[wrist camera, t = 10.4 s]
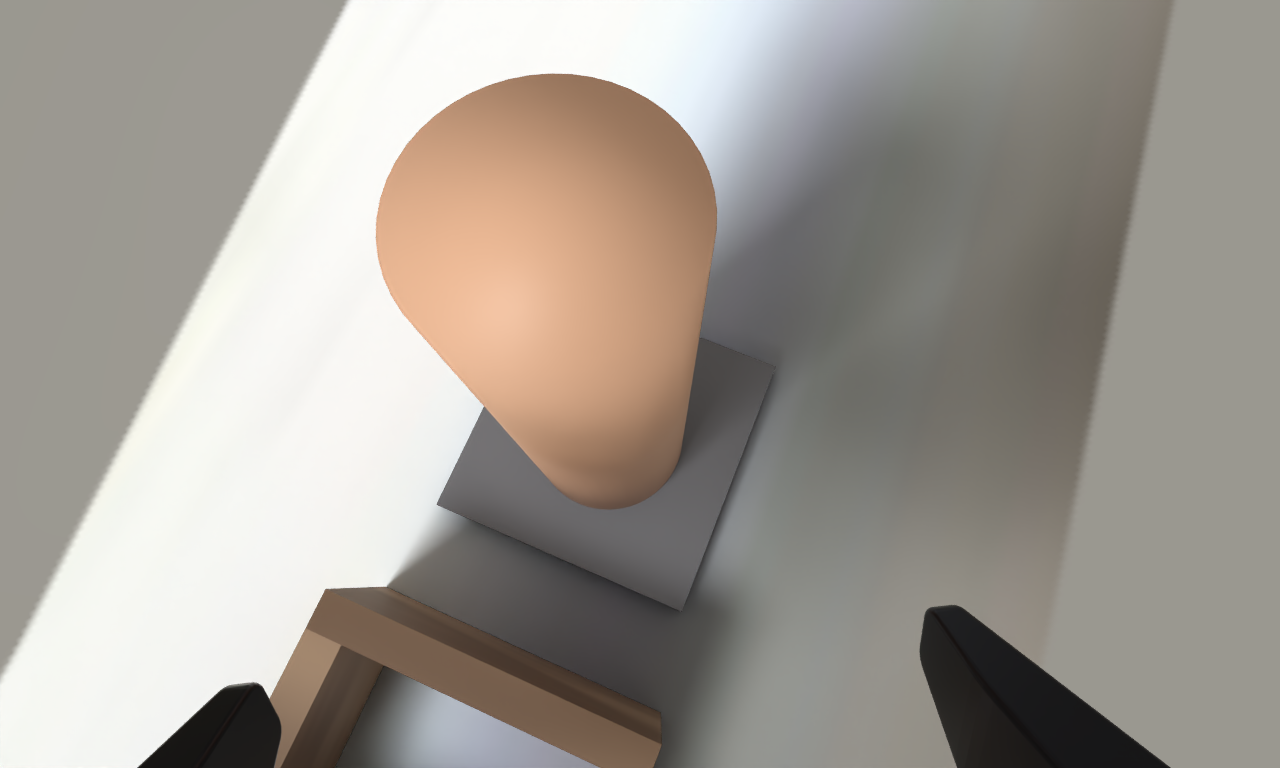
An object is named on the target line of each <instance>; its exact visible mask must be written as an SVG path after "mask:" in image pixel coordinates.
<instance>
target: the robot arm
mask: <svg viewBox="0 0 1280 768" xmlns="http://www.w3.org/2000/svg"><path fill="white" fill-rule="evenodd" d="M920 660H921V664H922V667H923V671H924V673H925V676H926V679H927V682H928V685H929V688H930V691H931V694H932V697H933V700H934V702H935V705H936V708H937V711H938V714H939V717H940V720H941V723H942V726H943V729H944V731H945V734H946V737H947V740H948V743H949V746H950V749H951V752H952V755H953V758H954V760H955V763H956V766H957V768H1170V767H1169V766H1168V765H1166V764H1165V763H1164V762H1163V761H1161V760H1160V759H1159V758H1157V757H1156V756H1155V755H1153V754H1152V753H1151V752H1149V751H1148V750H1147V749H1146V748H1144V747H1143V746H1142V745H1140V744H1139V743H1138V742H1136V741H1135V740H1134V739H1133V738H1131V737H1130V736H1129V735H1127V734H1126V733H1125V732H1123V731H1122V730H1121V729H1120V728H1118V727H1117V726H1116V725H1114V724H1113V723H1112V722H1110V721H1109V720H1108V719H1106V718H1105V717H1104V716H1103V715H1101V714H1100V713H1099V712H1097V711H1096V710H1095V709H1094V708H1092V707H1091V706H1090V705H1088V704H1087V703H1086V702H1084V701H1083V700H1082V699H1080V698H1079V697H1078V696H1077V695H1075V694H1074V693H1073V692H1071V691H1070V690H1069V689H1067V688H1066V687H1065V686H1064V685H1062V684H1061V683H1060V682H1058V681H1057V680H1056V679H1054V678H1053V677H1052V676H1051V675H1049V674H1048V673H1047V672H1045V671H1044V670H1043V669H1041V668H1040V667H1039V666H1038V665H1036V664H1035V663H1034V662H1032V661H1031V660H1030V659H1028V658H1027V657H1026V656H1025V655H1023V654H1022V653H1021V652H1019V651H1018V650H1017V649H1015V648H1014V647H1013V646H1012V645H1010V644H1009V643H1008V642H1006V641H1005V640H1004V639H1002V638H1001V637H1000V636H998V635H997V634H996V633H995V632H993V631H992V630H991V629H989V628H988V627H987V626H985V625H984V624H983V623H982V622H980V621H979V620H978V619H976V618H975V617H974V616H972V615H971V614H970V613H969V612H967V611H966V610H965V609H963V608H962V607H959V606H957V605H947V606H938V607H931V608H929V609H927V611H926V612H925V616H924V622H923V629H922V636H921V642H920ZM281 733H282V728H281V722H280V719H279V716H278V714H277V713H276V711H275V709H274V707H273V705H272V703H271V701H270V699H269V698H268V696H267V694H266V692H265V690H264V688H263V687H262V686H261V685H260V684H258V683H254V682H252V683H243V684H234V685H229V686H227V687H225V688H223V689H222V690H220V691H219V692H218V693H217V694H216V695H215V696H214V697H213V698H211V699H210V700H209V701H208V702H207V703H206V704H205V705H204V706H203V707H202V708H201V709H200V710H199V711H198V712H196V713H195V714H194V715H193V716H192V717H191V718H190V719H189V720H188V721H187V722H186V723H185V724H184V725H183V726H182V727H180V728H179V729H178V730H177V731H176V732H175V733H174V734H173V735H172V736H171V737H170V738H169V739H168V740H167V741H165V742H164V743H163V744H162V745H161V746H160V747H159V748H158V749H157V750H156V751H155V752H154V753H153V754H152V755H150V756H149V757H148V758H147V759H146V760H145V761H144V762H143V763H142V764H141V765H140V766H139V767H138V768H274V767H275V762H276V758H277V754H278V749H279V745H280V740H281Z"/></svg>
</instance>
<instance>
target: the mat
mask: <svg viewBox="0 0 1280 768" xmlns="http://www.w3.org/2000/svg"><path fill="white" fill-rule="evenodd" d="M775 367H776V366H773V365H770V364H768V363H765V362H762V361H760V360H757V359H755V358H752V357H749V356H747V355H744V354H742V353H739V352H736V351H734V350H731V349H729V348H726V347H723V346H721V345H718V344H716V343H713V342H710V341H708V340H705V339H703V338H700V337H699V342H698V348H697V355H696V361H695V367H694V373H693V379H692V386H691V392H690V398H689V404H688V410H687V417H686V423H685V429H684V435H683V441H682V447H681V453H680V457H679V460H678V463H677V465H676V467H675V469H674V471H673V473H672V474H671V476H670V478H669V479H668V480H667V482H666V483H665V484H664V485H663V486H662V487H661V488H660V489H659V490H658V491H657V492H656V493H655V494H653V495H652V496H650V497H649V498H647V499H646V500H644V501H642V502H640V503H638V504H635V505H632V506H630V507H625V508H621V509H611V510H606V509H596V508H591V507H587V506H584V505H581V504H579V503H577V502H575V501H573V500H571V499H569V498H568V497H566V496H565V495H564V494H562V493H561V492H560V491H559V490H558V489H557V488H556V487H555V486H554V485H553V484H552V483H551V481H550V480H549V479H548V478H547V477H546V476H545V475H544V474H543V472H542V471H541V470H540V469H539V468H538V467H537V466H536V464H535V463H534V462H533V461H532V460H531V459H530V458H529V456H528V455H527V454H526V453H525V452H524V451H523V450H522V449H521V447H520V446H519V445H518V444H517V443H516V442H515V441H514V439H513V438H512V437H511V436H510V435H509V434H508V433H507V432H506V430H505V429H504V428H503V427H502V426H501V425H500V424H499V422H498V421H497V420H496V419H495V418H494V417H493V416H492V415H491V413H490V412H489V411H488V410H487V409H486V408H485V407H484V408H483V410H482V412H481V414H480V416H479V418H478V420H477V422H476V424H475V426H474V428H473V430H472V433H471V435H470V437H469V439H468V441H467V443H466V445H465V447H464V449H463V451H462V453H461V455H460V457H459V459H458V461H457V463H456V465H455V467H454V470H453V472H452V474H451V476H450V478H449V480H448V482H447V484H446V486H445V488H444V490H443V492H442V494H441V496H440V498H439V500H438V502H437V504H436V505H438V506H441V507H443V508H445V509H448V510H450V511H452V512H454V513H457V514H459V515H461V516H464V517H466V518H468V519H470V520H473V521H475V522H477V523H480V524H482V525H484V526H486V527H489V528H491V529H493V530H496V531H498V532H500V533H503V534H505V535H507V536H509V537H512V538H514V539H516V540H519V541H521V542H523V543H525V544H528V545H530V546H532V547H535V548H537V549H539V550H541V551H544V552H546V553H548V554H551V555H553V556H555V557H557V558H560V559H562V560H564V561H567V562H569V563H571V564H574V565H576V566H578V567H580V568H583V569H585V570H587V571H590V572H592V573H594V574H596V575H599V576H601V577H603V578H606V579H608V580H610V581H612V582H615V583H617V584H619V585H622V586H624V587H626V588H628V589H631V590H633V591H635V592H638V593H640V594H642V595H645V596H647V597H649V598H651V599H654V600H656V601H658V602H661V603H663V604H665V605H667V606H670V607H672V608H674V609H677V610H679V611H681V612H682V610H683V607H684V605H685V602H686V599H687V597H688V594H689V592H690V589H691V586H692V584H693V581H694V579H695V576H696V573H697V571H698V568H699V566H700V563H701V560H702V558H703V555H704V553H705V550H706V547H707V545H708V542H709V540H710V537H711V534H712V532H713V529H714V526H715V524H716V521H717V519H718V516H719V513H720V511H721V508H722V506H723V503H724V500H725V498H726V495H727V493H728V490H729V487H730V485H731V482H732V480H733V477H734V474H735V472H736V469H737V467H738V464H739V461H740V459H741V456H742V453H743V451H744V448H745V446H746V443H747V440H748V438H749V435H750V433H751V430H752V427H753V425H754V422H755V420H756V417H757V414H758V412H759V409H760V407H761V404H762V401H763V399H764V396H765V394H766V391H767V388H768V386H769V383H770V381H771V378H772V375H773V373H774V370H775Z"/></svg>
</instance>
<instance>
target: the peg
mask: <svg viewBox="0 0 1280 768" xmlns="http://www.w3.org/2000/svg"><path fill="white" fill-rule="evenodd" d="M716 229H717V207H716V199H715V191H714V187H713V184H712V180H711V177H710V173H709V170H708V168H707V166H706V164H705V161H704V159H703V157H702V155H701V153H700V151H699V150H698V148H697V147H696V145H695V143H694V142H693V140H692V139H691V137H690V136H689V135H688V134H687V133H686V131H685V130H684V129H683V128H682V127H681V125H680V124H679V123H678V122H677V121H676V120H675V119H673V118H672V117H671V116H670V115H669V114H668V113H667V112H666V111H665V110H663V109H662V108H660V107H659V106H658V105H656V104H655V103H653V102H652V101H650V100H649V99H647V98H646V97H644V96H642V95H640V94H638V93H636V92H634V91H632V90H630V89H628V88H625V87H623V86H620V85H617V84H615V83H612V82H609V81H605V80H601V79H597V78H593V77H587V76H580V75H573V74H540V75H529V76H524V77H518V78H513V79H508V80H505V81H502V82H498V83H495V84H492V85H489V86H486V87H484V88H482V89H479V90H477V91H475V92H472V93H470V94H468V95H466V96H465V97H463V98H461V99H459V100H457V101H456V102H454V103H452V104H451V105H449V106H448V107H446V108H445V109H444V110H442V111H441V112H440V113H438V114H437V115H435V116H434V117H433V118H432V119H431V120H430V121H429V122H428V123H427V124H425V125H424V126H423V127H422V128H421V129H420V130H419V131H418V132H417V134H416V135H415V136H414V137H413V138H412V139H411V140H410V142H409V143H408V144H407V145H406V147H405V148H404V150H403V151H402V153H401V154H400V156H399V157H398V159H397V160H396V162H395V164H394V166H393V168H392V170H391V172H390V174H389V176H388V178H387V180H386V183H385V186H384V189H383V192H382V195H381V198H380V203H379V208H378V214H377V222H376V244H377V253H378V259H379V263H380V267H381V271H382V274H383V278H384V280H385V282H386V285H387V287H388V289H389V291H390V294H391V296H392V297H393V299H394V301H395V302H396V304H397V305H398V307H399V309H400V310H401V312H402V313H403V314H404V316H405V317H406V318H407V319H408V320H409V321H410V323H411V324H412V325H413V326H414V327H415V328H416V329H417V331H418V332H419V333H420V334H421V335H422V336H423V337H424V339H425V340H426V341H427V342H428V343H429V344H430V345H431V347H432V348H433V349H434V350H435V351H436V352H437V353H438V354H439V356H440V357H441V358H442V359H443V360H444V361H445V362H446V364H447V365H448V366H449V367H450V368H451V369H452V370H453V371H454V373H455V374H456V375H457V376H458V377H459V378H460V379H461V381H462V382H463V383H464V384H465V385H466V386H467V387H468V388H469V390H470V391H471V392H472V393H473V394H474V395H475V396H476V398H477V399H478V400H479V401H480V402H481V403H482V404H483V405H484V407H485V408H486V409H487V410H488V411H489V412H490V413H491V415H492V416H493V417H494V418H495V419H496V420H497V421H498V422H499V424H500V425H501V426H502V427H503V428H504V429H505V430H506V432H507V433H508V434H509V435H510V436H511V437H512V438H513V439H514V441H515V442H516V443H517V444H518V445H519V446H520V447H521V449H522V450H523V451H524V452H525V453H526V454H527V455H528V456H529V458H530V459H531V460H532V461H533V462H534V463H535V464H536V466H537V467H538V468H539V469H540V470H541V471H542V472H543V474H544V475H545V476H546V477H547V478H548V479H549V480H550V481H551V483H552V484H553V485H554V486H555V487H556V488H557V489H558V490H559V491H560V492H561V493H562V494H564V495H565V496H566V497H568V498H569V499H571V500H573V501H575V502H577V503H579V504H581V505H584V506H587V507H591V508H596V509H606V510H611V509H621V508H625V507H630V506H632V505H635V504H638V503H640V502H642V501H644V500H646V499H647V498H649V497H650V496H652V495H653V494H655V493H656V492H657V491H658V490H659V489H660V488H661V487H662V486H663V485H664V484H665V483H666V482H667V480H668V479H669V478H670V476H671V474H672V473H673V471H674V469H675V467H676V465H677V463H678V460H679V457H680V453H681V447H682V441H683V435H684V429H685V423H686V417H687V410H688V404H689V398H690V392H691V386H692V379H693V373H694V367H695V361H696V355H697V348H698V342H699V336H700V330H701V323H702V317H703V311H704V305H705V299H706V292H707V286H708V280H709V274H710V268H711V261H712V255H713V249H714V243H715V237H716Z"/></svg>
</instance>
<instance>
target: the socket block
mask: <svg viewBox="0 0 1280 768" xmlns="http://www.w3.org/2000/svg"><path fill="white" fill-rule="evenodd" d="M383 666H386V667H388V668H391V669H393V670H395V671H397V672H399V673H401V674H403V675H405V676H408V677H410V678H412V679H414V680H416V681H418V682H420V683H422V684H424V685H427V686H429V687H431V688H433V689H435V690H437V691H439V692H441V693H443V694H446V695H448V696H450V697H452V698H454V699H456V700H458V701H460V702H463V703H465V704H467V705H469V706H471V707H473V708H475V709H477V710H479V711H482V712H484V713H486V714H488V715H490V716H492V717H494V718H496V719H498V720H501V721H503V722H505V723H507V724H509V725H511V726H513V727H515V728H518V729H520V730H522V731H524V732H526V733H528V734H530V735H532V736H534V737H537V738H539V739H541V740H543V741H545V742H547V743H549V744H551V745H553V746H556V747H558V748H560V749H562V750H564V751H566V752H568V753H570V754H572V755H575V756H577V757H579V758H581V759H583V760H585V761H587V762H589V763H592V764H594V765H596V766H598V767H600V768H653V767H654V764H655V762H656V759H657V756H658V754H659V751H660V748H661V746H662V733H661V713H660V712H658V711H656V710H654V709H652V708H649V707H647V706H645V705H643V704H641V703H639V702H636V701H634V700H632V699H630V698H628V697H625V696H623V695H621V694H619V693H617V692H614V691H612V690H610V689H608V688H606V687H604V686H601V685H599V684H597V683H595V682H593V681H590V680H588V679H586V678H584V677H582V676H579V675H577V674H575V673H573V672H571V671H569V670H566V669H564V668H562V667H560V666H558V665H555V664H553V663H551V662H549V661H547V660H544V659H542V658H540V657H538V656H536V655H534V654H531V653H529V652H527V651H525V650H523V649H520V648H518V647H516V646H514V645H512V644H509V643H507V642H505V641H503V640H501V639H499V638H496V637H494V636H492V635H490V634H488V633H485V632H483V631H481V630H479V629H477V628H474V627H472V626H470V625H468V624H466V623H464V622H461V621H459V620H457V619H455V618H453V617H450V616H448V615H446V614H444V613H442V612H439V611H437V610H435V609H433V608H431V607H429V606H426V605H424V604H422V603H420V602H418V601H415V600H413V599H411V598H409V597H407V596H404V595H402V594H400V593H398V592H396V591H394V590H391V589H389V588H387V587H368V588H341V589H325V591H324V593H323V595H322V597H321V599H320V601H319V603H318V605H317V607H316V609H315V611H314V613H313V615H312V617H311V619H310V621H309V623H308V625H307V627H306V629H305V631H304V633H303V635H302V636H301V638H300V640H299V642H298V644H297V646H296V648H295V650H294V652H293V654H292V656H291V658H290V660H289V662H288V664H287V666H286V668H285V670H284V672H283V674H282V676H281V678H280V680H279V681H278V683H277V685H276V687H275V689H274V691H273V693H272V695H271V697H270V701H271V703H272V705H273V707H274V709H275V711H276V713H277V714H278V716H279V719H280V722H281V728H282V733H281V740H280V745H279V749H278V754H277V758H276V762H275V767H274V768H335V766H336V764H337V762H338V760H339V758H340V756H341V753H342V751H343V749H344V747H345V745H346V743H347V741H348V739H349V737H350V735H351V733H352V730H353V728H354V726H355V724H356V722H357V720H358V718H359V716H360V714H361V712H362V710H363V707H364V705H365V703H366V701H367V699H368V697H369V695H370V693H371V691H372V689H373V687H374V684H375V682H376V680H377V678H378V676H379V674H380V672H381V670H382V668H383Z"/></svg>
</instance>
